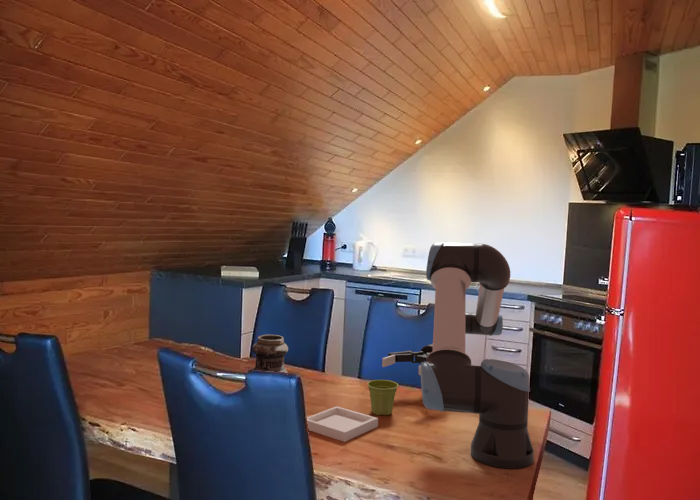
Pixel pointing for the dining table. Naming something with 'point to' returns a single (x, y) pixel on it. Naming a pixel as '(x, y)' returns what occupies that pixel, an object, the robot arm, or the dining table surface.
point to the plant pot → (382, 396)
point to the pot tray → (341, 423)
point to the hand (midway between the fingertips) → (400, 366)
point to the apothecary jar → (270, 353)
